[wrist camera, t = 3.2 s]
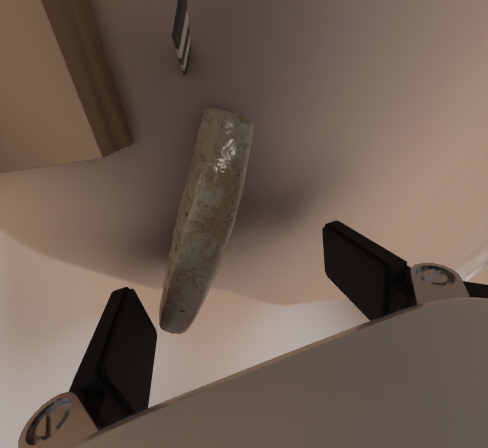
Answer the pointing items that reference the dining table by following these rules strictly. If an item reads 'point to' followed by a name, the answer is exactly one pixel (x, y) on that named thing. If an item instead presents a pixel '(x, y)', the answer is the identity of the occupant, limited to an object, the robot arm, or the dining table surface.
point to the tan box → (55, 87)
